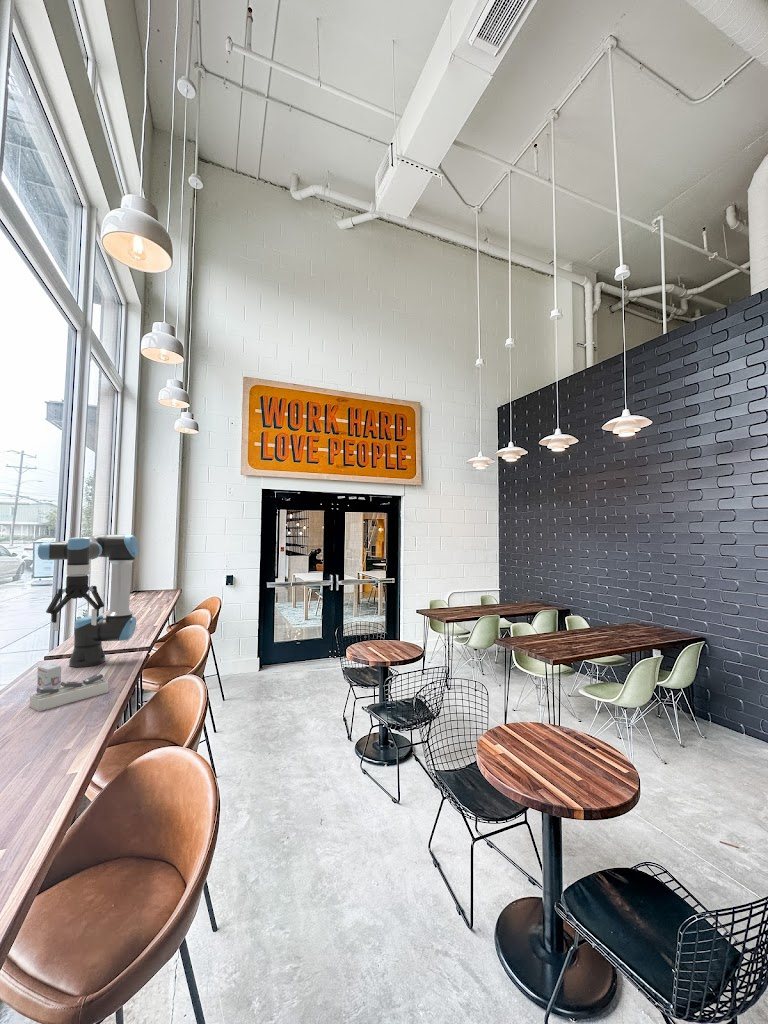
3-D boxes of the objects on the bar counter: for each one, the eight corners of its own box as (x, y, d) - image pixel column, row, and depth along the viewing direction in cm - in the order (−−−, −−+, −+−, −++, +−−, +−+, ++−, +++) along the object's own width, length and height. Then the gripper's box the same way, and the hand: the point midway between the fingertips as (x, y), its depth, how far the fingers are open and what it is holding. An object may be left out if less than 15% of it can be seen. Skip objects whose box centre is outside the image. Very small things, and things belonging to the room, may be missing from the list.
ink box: (35, 695, 179) (37, 665, 180) (49, 691, 184) (51, 662, 184) (47, 699, 175) (48, 668, 176) (61, 695, 180) (62, 665, 180)
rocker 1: (53, 690, 173) (54, 687, 173) (57, 692, 171) (59, 688, 171) (36, 691, 168) (37, 687, 168) (40, 693, 166) (41, 689, 166)
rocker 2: (76, 684, 179) (77, 681, 180) (81, 686, 177) (82, 683, 178) (60, 685, 174) (61, 681, 175) (64, 687, 172) (65, 683, 173)
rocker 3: (98, 675, 186) (98, 672, 186) (103, 677, 184) (102, 674, 184) (83, 683, 181) (82, 680, 181) (87, 684, 179) (86, 681, 179)
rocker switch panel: (98, 688, 188) (98, 677, 188) (108, 692, 184) (108, 680, 184) (29, 706, 168) (30, 694, 168) (38, 711, 163) (39, 698, 164)
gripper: (105, 572, 195) (103, 621, 194) (37, 577, 174) (35, 632, 173) (114, 573, 191) (112, 623, 190) (45, 578, 170) (43, 634, 169)
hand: (75, 627), depth 182 cm, fingers open, 13 cm apart
